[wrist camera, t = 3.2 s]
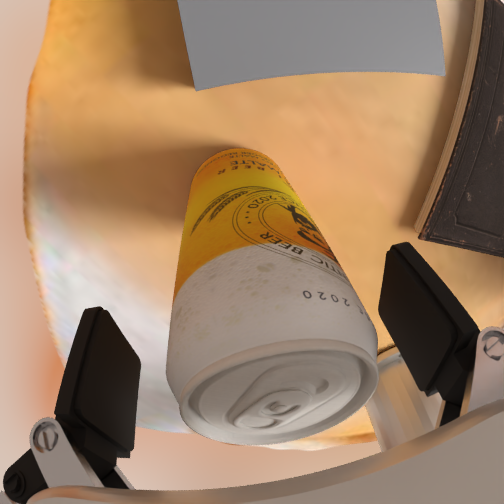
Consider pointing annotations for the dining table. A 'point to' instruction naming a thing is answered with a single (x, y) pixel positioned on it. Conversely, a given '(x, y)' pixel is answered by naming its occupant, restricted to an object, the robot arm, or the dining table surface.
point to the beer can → (262, 312)
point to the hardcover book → (473, 149)
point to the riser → (309, 38)
